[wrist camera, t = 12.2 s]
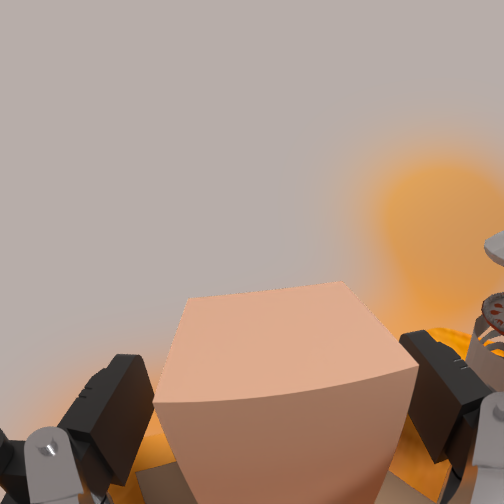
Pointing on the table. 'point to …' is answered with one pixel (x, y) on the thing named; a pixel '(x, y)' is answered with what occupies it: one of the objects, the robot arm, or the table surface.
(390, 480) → the walnut block
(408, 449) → the table surface
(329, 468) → the terracotta block
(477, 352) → the french press
